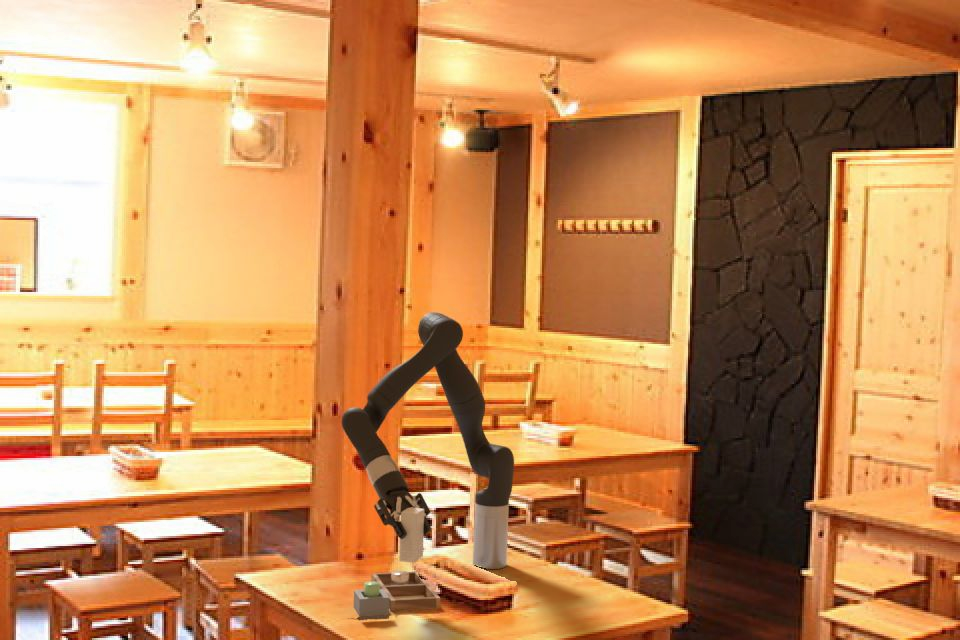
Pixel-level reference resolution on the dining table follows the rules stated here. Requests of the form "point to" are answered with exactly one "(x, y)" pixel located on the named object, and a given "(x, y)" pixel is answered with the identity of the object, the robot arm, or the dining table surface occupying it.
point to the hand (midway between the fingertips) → (416, 534)
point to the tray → (408, 593)
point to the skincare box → (412, 535)
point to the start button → (371, 589)
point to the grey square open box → (371, 605)
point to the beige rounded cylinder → (399, 578)
